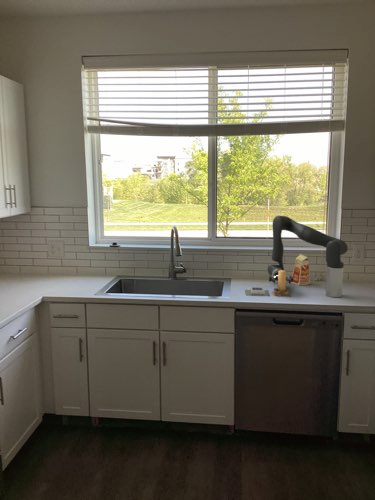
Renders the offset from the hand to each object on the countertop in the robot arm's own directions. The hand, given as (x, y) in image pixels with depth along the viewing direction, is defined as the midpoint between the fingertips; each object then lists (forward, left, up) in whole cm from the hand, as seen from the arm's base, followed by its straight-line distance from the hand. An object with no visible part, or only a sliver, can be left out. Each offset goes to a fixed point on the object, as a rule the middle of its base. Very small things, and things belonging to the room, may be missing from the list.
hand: (282, 281), depth 243 cm
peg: (0, -1, -8) cm, 8 cm away
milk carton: (-8, -37, -9) cm, 39 cm away
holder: (0, -1, -9) cm, 9 cm away
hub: (+14, +1, -9) cm, 17 cm away
